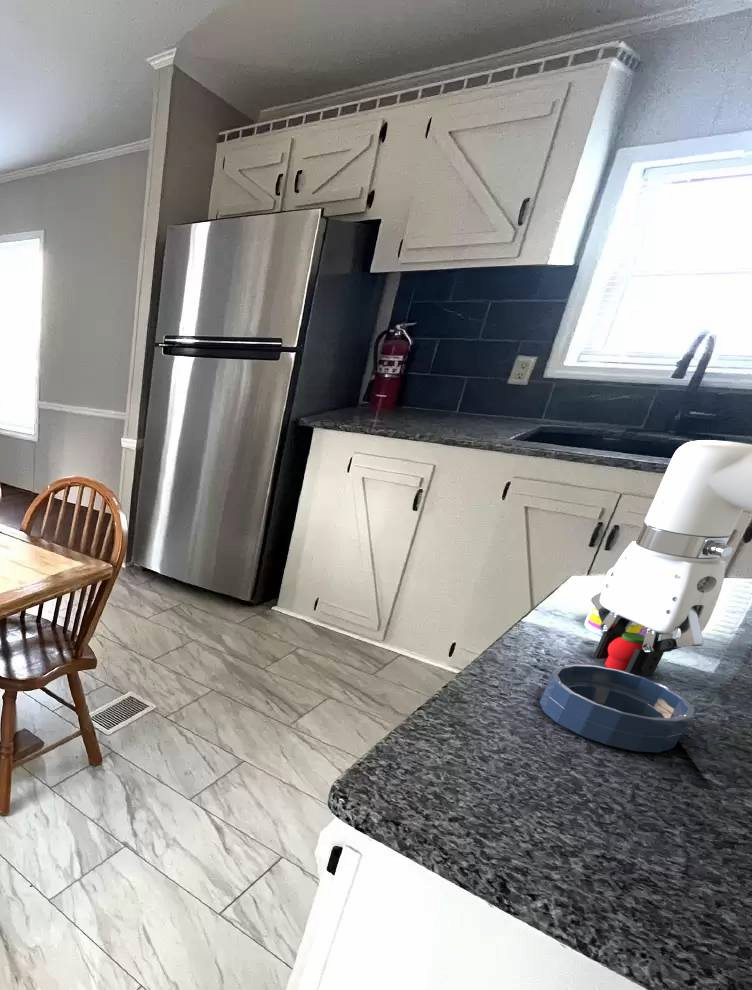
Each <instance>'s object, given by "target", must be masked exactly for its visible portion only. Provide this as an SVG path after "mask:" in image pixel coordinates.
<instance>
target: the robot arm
mask: <svg viewBox="0 0 752 990" xmlns="http://www.w3.org/2000/svg"><path fill="white" fill-rule="evenodd" d="M744 510H748V511H752V444H750V443H744V442H737V441H725V440H695V441H689V442H686V443H683V444H682V445H681V446H679V447H678V448H677V449H676V450H675V452H674V453H673V455H672V457H671V459H670V462H669V464H668V465H667V468H666V471H665V472H664V475H663V477H662V480H661V482H660V484H659V487H658V489H657V491H656V493H655V496H654V498H653V500H652V503H651V506H650V507H649V509H648V511H647V513H646V514H647V515H646V516H645V518H644V521H643V523H642V525H641V528H640V530H639V532H638V535H637V537H636V539H635V541H631V542H630V543H629V545H628V546H627V547H626V548H625V549H624V551H623V552H622V554H621V555H620V557H619V558H618V560H617V561H616V563H615V564H614V566H613V567H614V568H613V567H612V568H613V570H612V571H611V573H610V575H609V577H608V579H607V581H606V583H605V585H604V588H603V590H602V592H600V593H597V594H596V595H595V594H594V596H592V597H591V599H590V601H591V603H592V605H594V606H595V608H596V609H597V610H598V611H599V612H598V614H599V616H600V619H601V621H602V624H601V625H600V629H601V630H602V631H604V632H602V631H601V632H602V634H603V635H602V636H600V640H599V642H598V644H597V645H596V649H595V651H594V652H593V654H592V655H593V657H594V658H595V659H597V660H602V659H603V660H607V658H608V656H609V654H608V646H609V644H610V643H611V642H612V641H613V640H614V639H616V638H619V637H622V635H623V633H628V632H625V631H626V630H627V629H628V628H629V627H630V625H631V624H632V623H633V622H635V623H637V624H639V625H641V626H644V627H646V628H647V629H646V633H645V635H644V636H645V637H644V641H643V645H642V649H636V650H635V651H634V653H633V655H632V657H631V660H630V662H629V664H628V666H627V668H626V670H625V672H627V673H631V674H634V675H637V676H652V675H654V672H655V671H656V670H657V667H658V666H659V663H660V661H661V659H662V658H663V656H664V654H665V653H670V652H672V651H675V650H678V649H681V648H695V647H702V646H704V638H703V634H702V632H703V631H704V630H705V628H706V627H707V625H708V623H709V621H710V619H711V617H712V616H713V615H712V614H713V612H714V610H715V607H716V605H717V602H718V599H719V597H720V593H721V591H722V588H723V584H724V579H725V575H726V567H727V566H726V564H727V563H726V561H724V560H722V559H720V558H721V557H722V558H726V557H727V558H728V557H729V556H730V555H732V553H733V551H734V547H731V546H729V545H728V542H729V540H730V539H731V536H732V534H733V532H734V531H735V528H736V526H737V524H738V522H739V520H740V518H741V516H742V514H743V512H744ZM678 630H679V632H680V636H679V637H677V635H678ZM660 635H661V636H660ZM659 639H660V640H659Z"/></svg>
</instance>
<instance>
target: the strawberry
mask: <svg viewBox="0 0 752 990" xmlns="http://www.w3.org/2000/svg"><path fill="white" fill-rule="evenodd" d="M644 637H645V635H644V636H642V635H639V634H635V633H623V635H622V637H619V638H616V639H614V640H613V641H612V642H611V643H610V644H609V646H608V654H609V656H608V658H607V659H605V663H604V667H606V668H611V669H617V670H621V671H624V672H625V670H626V668H627V666H628V664H629V662H630V660H631V657H632V655H633V653H634V651H635V650H636V649H642V645H643V641H644Z"/></svg>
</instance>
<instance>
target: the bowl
mask: <svg viewBox="0 0 752 990" xmlns="http://www.w3.org/2000/svg"><path fill="white" fill-rule="evenodd" d="M539 705H540V706H541V709H542V711H543V713H544V714H545V715H547V716H548V717H549V718H550V719H551V720H553V721H554V722H555V723H556V724H558V725H559V726H562V727H563V728H566V729H568V730H569V731H571V732H573V733H575V734H577V735H580V736H582V737H584V738H586V739H589V740H591V741H594V742H597V743H601V744H604V745H607V746H610V747H615V748H619V749H624V750H628V751H632V752H645V753H662V752H665V751H669V750H670V751H671V750H674V748H675V747H676V745H677V743H678V742H679V740H680V739H681V736H682V735H683V733H684V731H685V730H686V728H687V726H688V725H689V723H690V721H691V720H692V718H693V715H694V713H695V708H694V707H693V705H692V704H691V703H690V701H689V700H688V699H687V698H686V697H684V696H682V695H681V694H679V693H677V692H676V691H675V690H673V689H671V688H670V687H668V686H665V685H663V684H661V683H658V682H656V681H653V680H651V679H650V678H647V677H644V676H642V675H634V674H631V673H627V672H624V671H621V670H617V669H611V668H608V667H606V666H601V665H600V666H599V665H594V664H576V663H575V664H574V663H572V664H566V665H560V666H557V667H556V668H555V669H554V671H553V672H552V673H551V676H550V678H549V680H548V682H547V684H546V686H545V688H544V691H543V693H542V695H541V698H540V700H539Z"/></svg>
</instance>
